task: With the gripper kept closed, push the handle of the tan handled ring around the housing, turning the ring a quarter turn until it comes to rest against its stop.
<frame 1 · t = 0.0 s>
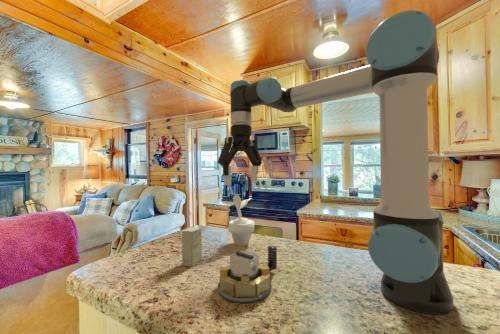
hand: (241, 184, 82), 28 cm above the countertop, fingers open, 13 cm apart
potted plant: (242, 243, 102), on the countertop
tan handled ring: (253, 266, 67), point 5 cm above the countertop, hinge at -90.0°
housing: (244, 288, 64), on the countertop
skincare box: (192, 263, 82), on the countertop
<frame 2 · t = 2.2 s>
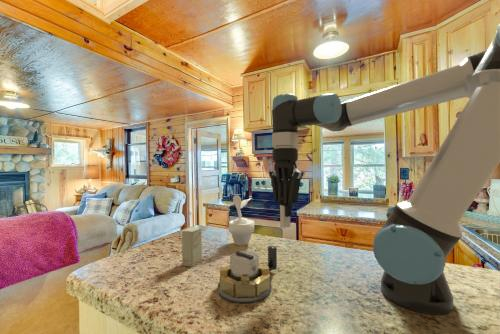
hand: (285, 226, 68), 16 cm above the countertop, fingers closed
nothing on the countertop moved.
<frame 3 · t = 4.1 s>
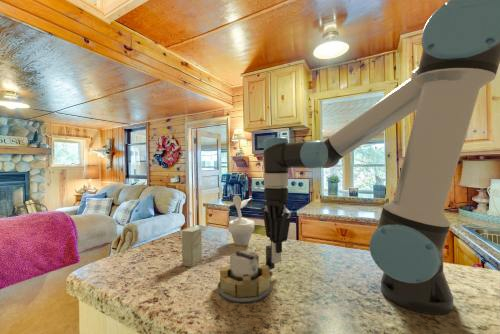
hand: (276, 261, 72), 4 cm above the countertop, fingers closed
tan handled ring: (252, 266, 67), point 5 cm above the countertop, hinge at -86.2°, touching gripper
everything else where it was.
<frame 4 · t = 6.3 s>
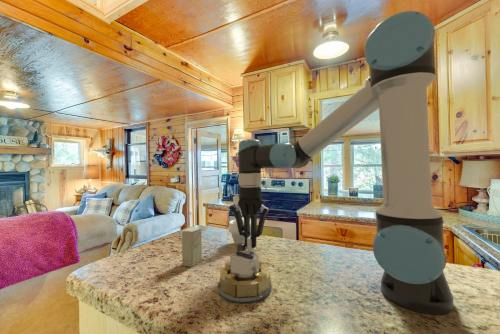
hand: (250, 256, 76), 4 cm above the countertop, fingers closed
tan handled ring: (243, 265, 68), point 5 cm above the countertop, hinge at -41.4°, touching gripper
everything else where it was.
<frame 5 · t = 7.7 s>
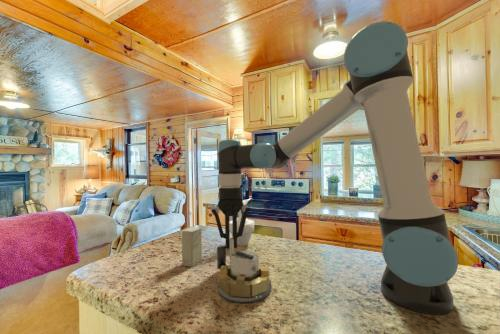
hand: (231, 257, 76), 4 cm above the countertop, fingers closed
tan handled ring: (237, 266, 67), point 5 cm above the countertop, hinge at -10.9°, touching gripper
everything else where it was.
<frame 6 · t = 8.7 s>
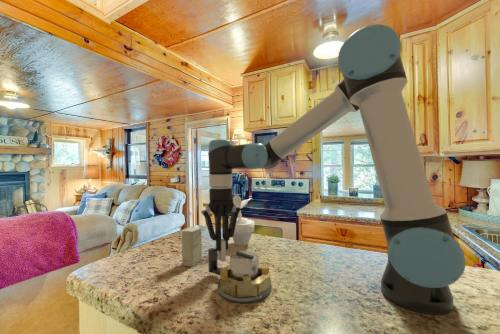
hand: (222, 260, 74), 4 cm above the countertop, fingers closed
tan handled ring: (234, 267, 66), point 5 cm above the countertop, hinge at 4.2°, touching gripper
everything else where it was.
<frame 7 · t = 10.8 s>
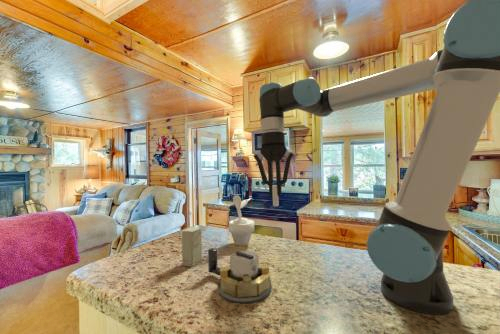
hand: (275, 205, 73), 22 cm above the countertop, fingers closed
tan handled ring: (234, 267, 66), point 5 cm above the countertop, hinge at 4.3°
everything else where it was.
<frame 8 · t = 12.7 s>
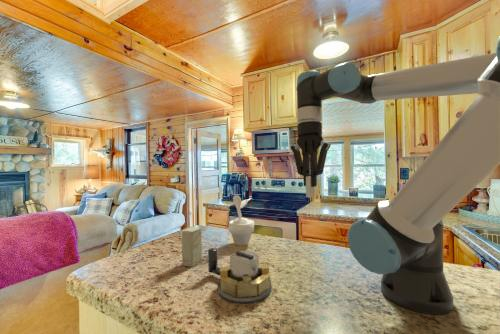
hand: (310, 196, 72), 24 cm above the countertop, fingers closed
nothing on the countertop moved.
at the end: tan handled ring at +4° (first picture: -90°); tan handled ring touching nothing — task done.
